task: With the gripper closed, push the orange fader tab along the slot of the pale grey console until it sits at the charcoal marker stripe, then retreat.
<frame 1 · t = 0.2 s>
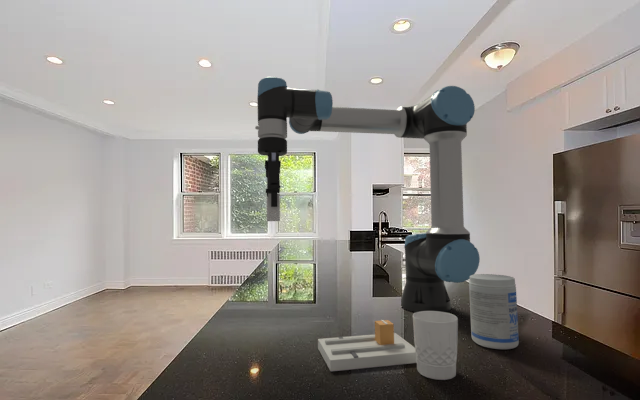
hand: (272, 221, 89), 28 cm above the countertop, fingers open, 13 cm apart
supplement tub: (494, 344, 78), on the countertop
console: (366, 355, 72), on the countertop
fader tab: (384, 331, 73), point 4 cm above the countertop, slide at -4.0 cm
white cup: (436, 373, 64), on the countertop
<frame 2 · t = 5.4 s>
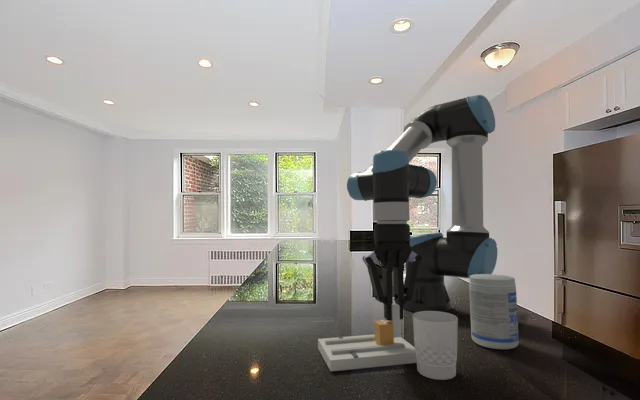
hand: (394, 335, 73), 4 cm above the countertop, fingers closed
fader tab: (383, 331, 73), point 4 cm above the countertop, slide at -3.9 cm, touching gripper
everything else where it was.
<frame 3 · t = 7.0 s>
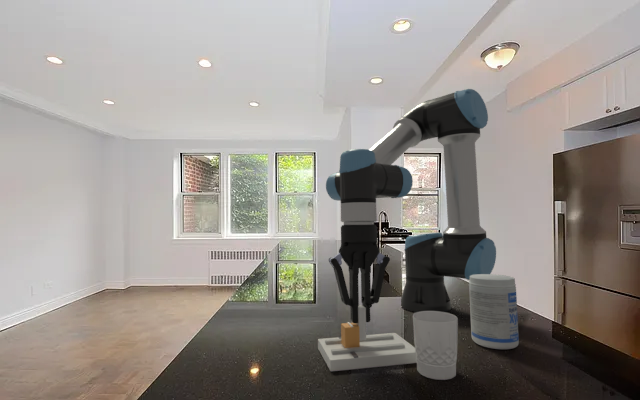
hand: (360, 338, 72), 3 cm above the countertop, fingers closed
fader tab: (350, 334, 72), point 4 cm above the countertop, slide at 3.4 cm, touching gripper
everything else where it was.
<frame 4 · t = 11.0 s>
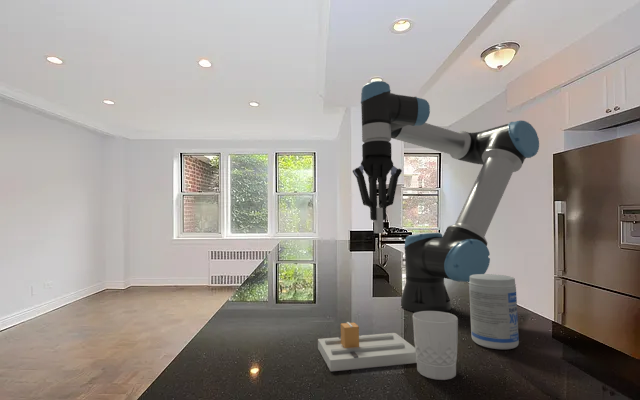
hand: (378, 233, 90), 24 cm above the countertop, fingers closed
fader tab: (349, 334, 72), point 4 cm above the countertop, slide at 3.5 cm
everything else where it was.
at the end: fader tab slide at 3.5 cm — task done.
